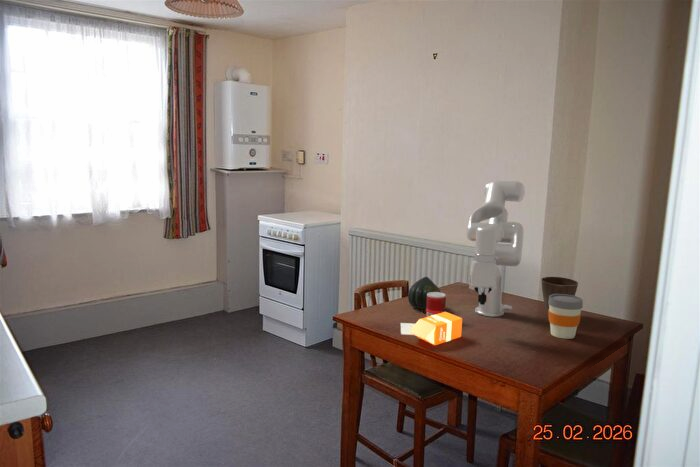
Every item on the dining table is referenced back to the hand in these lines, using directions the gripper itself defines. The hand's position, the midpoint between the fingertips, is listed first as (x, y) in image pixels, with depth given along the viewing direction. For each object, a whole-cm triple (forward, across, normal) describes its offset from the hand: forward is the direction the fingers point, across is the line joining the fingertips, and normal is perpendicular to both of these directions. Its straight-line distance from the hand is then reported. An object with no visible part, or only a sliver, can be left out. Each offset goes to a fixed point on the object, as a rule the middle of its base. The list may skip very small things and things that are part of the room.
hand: (482, 303), depth 203 cm
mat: (+12, +23, 0) cm, 26 cm away
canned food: (+12, +17, -15) cm, 25 cm away
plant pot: (+12, -37, -26) cm, 47 cm away
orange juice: (+8, +11, +3) cm, 14 cm away
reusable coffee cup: (+12, -32, -2) cm, 35 cm away
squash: (+12, +21, -30) cm, 38 cm away
